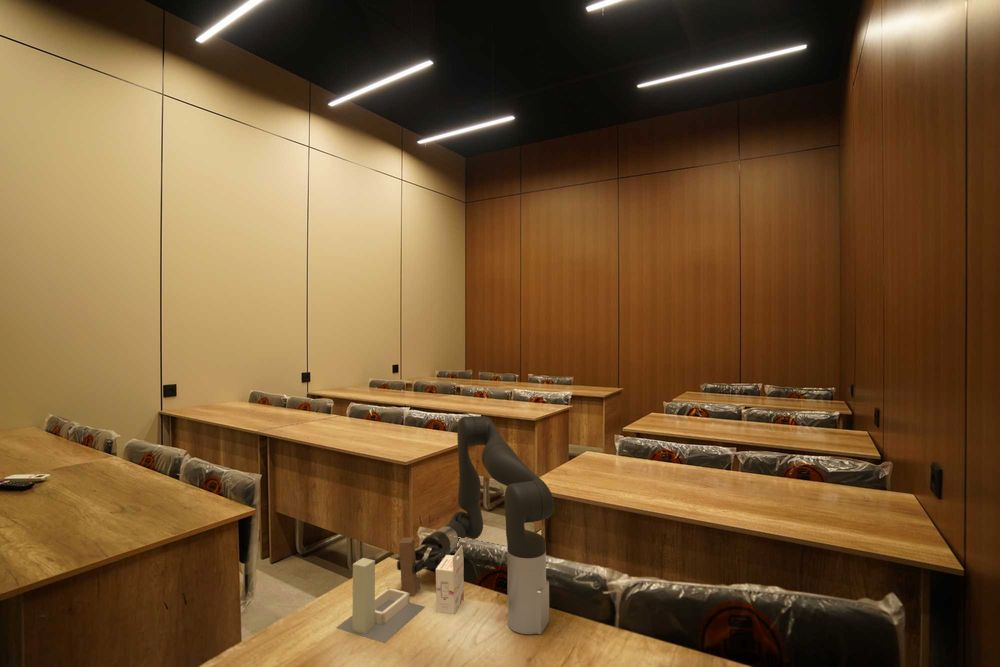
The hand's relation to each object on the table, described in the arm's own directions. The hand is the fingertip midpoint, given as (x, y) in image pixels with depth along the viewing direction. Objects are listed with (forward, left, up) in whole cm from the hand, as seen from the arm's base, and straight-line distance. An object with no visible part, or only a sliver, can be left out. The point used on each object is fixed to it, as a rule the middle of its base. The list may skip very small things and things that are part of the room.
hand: (406, 568), depth 125 cm
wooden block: (0, -3, -8) cm, 9 cm away
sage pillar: (0, +16, -7) cm, 18 cm away
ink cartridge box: (-13, -1, -8) cm, 15 cm away
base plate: (-1, +11, -8) cm, 13 cm away
